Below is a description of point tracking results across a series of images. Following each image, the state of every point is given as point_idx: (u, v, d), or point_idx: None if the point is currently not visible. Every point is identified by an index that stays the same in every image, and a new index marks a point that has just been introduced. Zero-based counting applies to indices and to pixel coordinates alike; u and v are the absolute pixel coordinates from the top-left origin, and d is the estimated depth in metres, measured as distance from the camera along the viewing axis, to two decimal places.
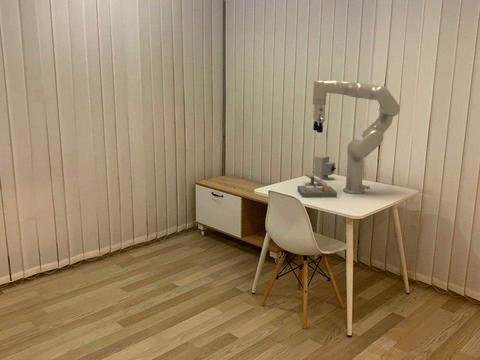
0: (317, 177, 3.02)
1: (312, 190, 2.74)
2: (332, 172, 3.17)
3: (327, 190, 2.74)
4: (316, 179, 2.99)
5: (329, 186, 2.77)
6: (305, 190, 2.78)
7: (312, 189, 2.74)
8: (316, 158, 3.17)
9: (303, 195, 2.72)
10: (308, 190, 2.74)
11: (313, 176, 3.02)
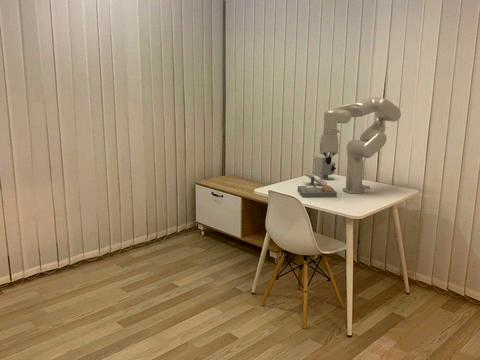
0: (318, 177, 3.03)
1: (312, 190, 2.74)
2: (332, 172, 3.17)
3: (327, 190, 2.74)
4: (316, 179, 2.99)
5: (329, 186, 2.77)
6: (305, 190, 2.78)
7: (312, 189, 2.74)
8: (316, 158, 3.17)
9: (303, 195, 2.72)
10: (308, 190, 2.74)
11: (313, 176, 3.02)
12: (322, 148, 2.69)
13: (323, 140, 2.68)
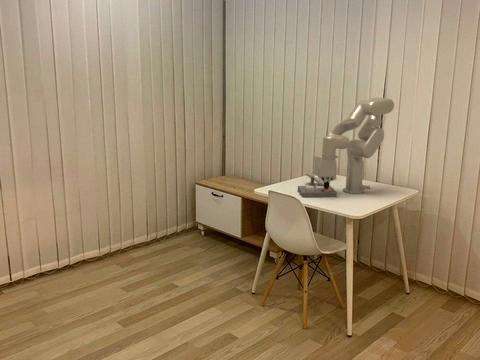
0: None
1: (312, 190, 2.74)
2: None
3: None
4: (317, 179, 3.00)
5: (329, 188, 2.77)
6: (305, 190, 2.78)
7: (312, 189, 2.74)
8: (316, 158, 3.17)
9: (303, 195, 2.72)
10: (308, 190, 2.74)
11: (314, 176, 3.02)
12: (320, 173, 2.72)
13: (321, 165, 2.71)
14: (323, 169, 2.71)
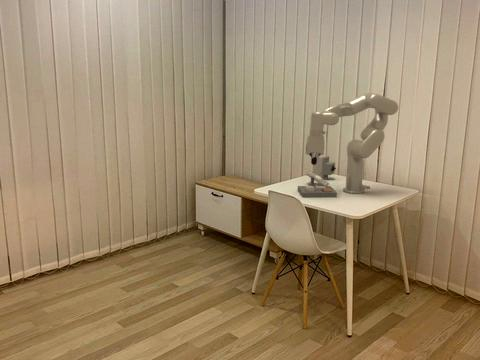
0: (319, 177, 3.03)
1: (312, 190, 2.74)
2: (332, 172, 3.17)
3: None
4: (317, 179, 3.00)
5: (329, 189, 2.77)
6: (305, 190, 2.78)
7: (312, 189, 2.74)
8: None
9: (303, 195, 2.72)
10: (308, 190, 2.74)
11: (315, 176, 3.03)
12: (308, 148, 2.72)
13: (309, 141, 2.71)
14: (311, 144, 2.72)
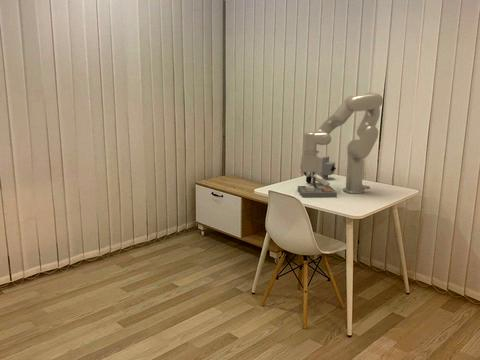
0: (320, 177, 3.04)
1: (312, 190, 2.74)
2: (332, 172, 3.17)
3: None
4: (317, 178, 3.01)
5: (329, 189, 2.77)
6: (305, 190, 2.78)
7: (312, 189, 2.74)
8: None
9: (303, 195, 2.72)
10: (308, 190, 2.74)
11: (316, 175, 3.03)
12: (302, 168, 2.79)
13: (303, 160, 2.78)
14: (305, 164, 2.79)
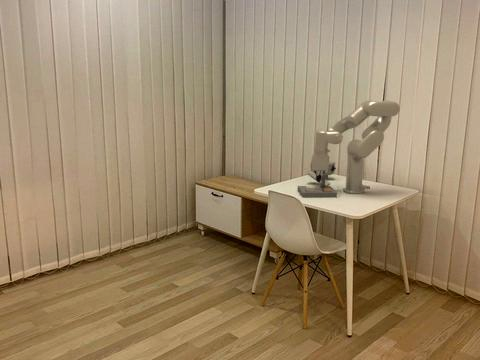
0: None
1: (312, 190, 2.74)
2: (332, 172, 3.17)
3: None
4: None
5: (329, 189, 2.77)
6: (305, 190, 2.78)
7: (312, 189, 2.74)
8: None
9: (303, 195, 2.72)
10: (308, 190, 2.74)
11: None
12: (313, 166, 2.80)
13: (314, 159, 2.79)
14: (315, 163, 2.79)
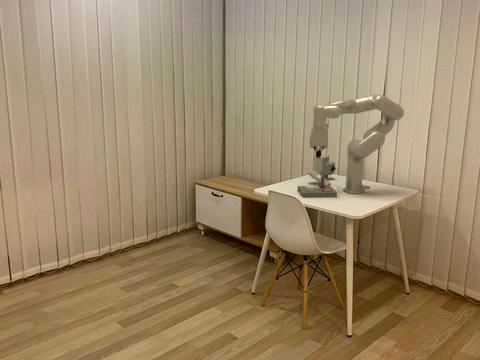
0: None
1: (312, 190, 2.74)
2: (332, 172, 3.17)
3: None
4: (318, 178, 3.01)
5: (329, 189, 2.77)
6: (305, 190, 2.78)
7: (312, 189, 2.74)
8: (316, 158, 3.17)
9: (303, 195, 2.72)
10: (308, 190, 2.74)
11: None
12: (312, 142, 2.77)
13: (313, 134, 2.76)
14: (314, 138, 2.76)
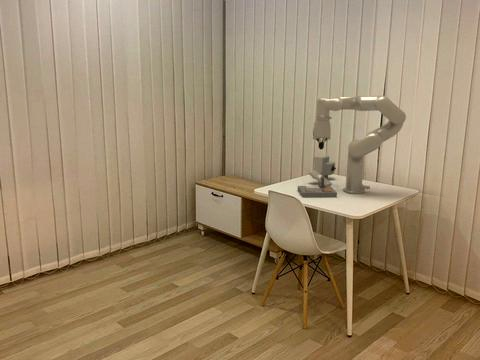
0: None
1: (312, 190, 2.74)
2: (332, 172, 3.17)
3: None
4: (319, 178, 3.02)
5: (329, 189, 2.77)
6: (305, 190, 2.78)
7: (312, 189, 2.74)
8: (316, 158, 3.17)
9: (303, 195, 2.72)
10: (308, 190, 2.74)
11: (317, 175, 3.04)
12: (315, 134, 2.83)
13: (316, 126, 2.82)
14: (317, 130, 2.82)
